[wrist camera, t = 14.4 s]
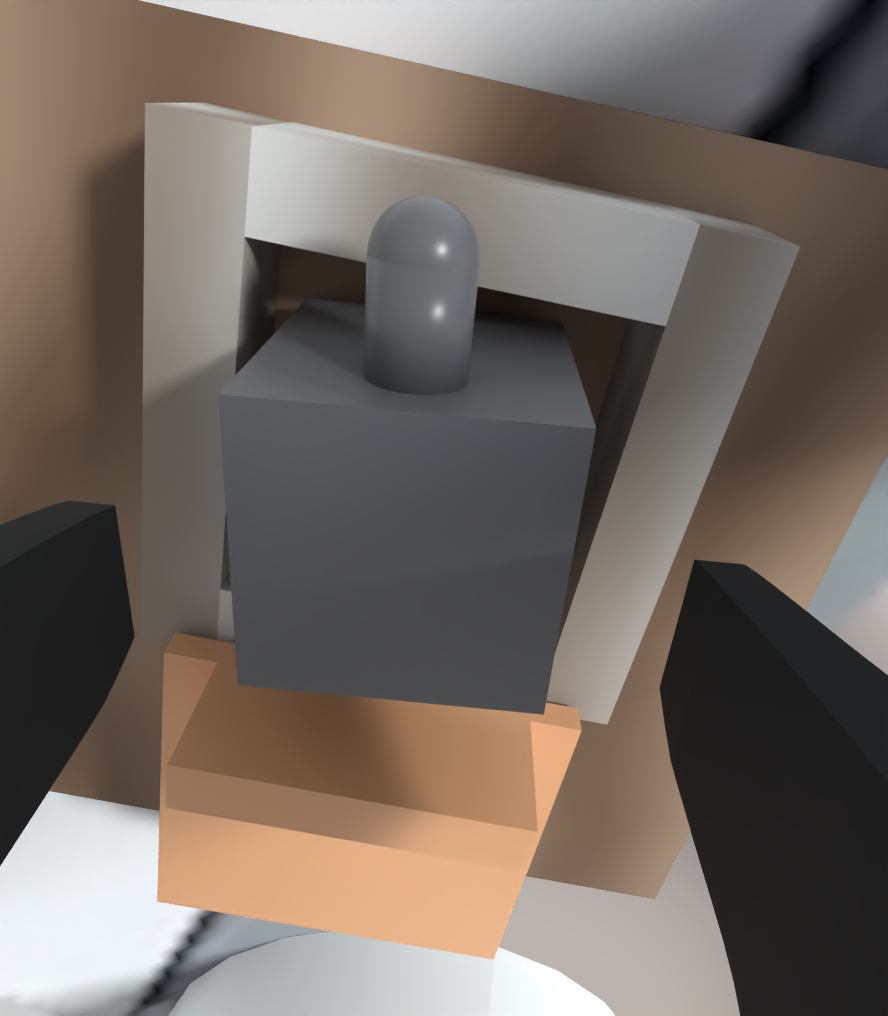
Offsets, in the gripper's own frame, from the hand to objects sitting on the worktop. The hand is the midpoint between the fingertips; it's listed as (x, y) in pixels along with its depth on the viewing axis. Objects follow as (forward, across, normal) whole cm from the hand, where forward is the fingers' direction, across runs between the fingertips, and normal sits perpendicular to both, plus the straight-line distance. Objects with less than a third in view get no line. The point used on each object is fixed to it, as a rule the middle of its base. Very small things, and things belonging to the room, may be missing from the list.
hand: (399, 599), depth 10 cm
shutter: (+4, +1, +8) cm, 9 cm away
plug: (+6, 0, -1) cm, 6 cm away
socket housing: (+8, +1, +4) cm, 9 cm away
